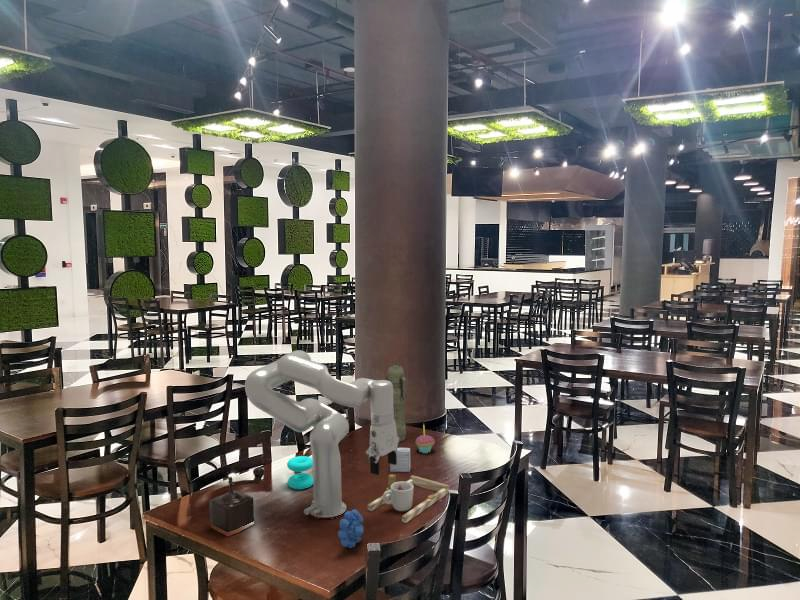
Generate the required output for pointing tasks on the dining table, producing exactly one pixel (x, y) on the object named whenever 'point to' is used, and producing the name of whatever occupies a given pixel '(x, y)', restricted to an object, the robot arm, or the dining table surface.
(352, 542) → the grapes
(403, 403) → the thermos
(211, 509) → the manual coffee grinder
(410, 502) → the cup
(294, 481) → the turquoise double ring spool
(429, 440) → the cupcake
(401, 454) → the medicine box
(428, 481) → the frame
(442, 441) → the dining table surface
